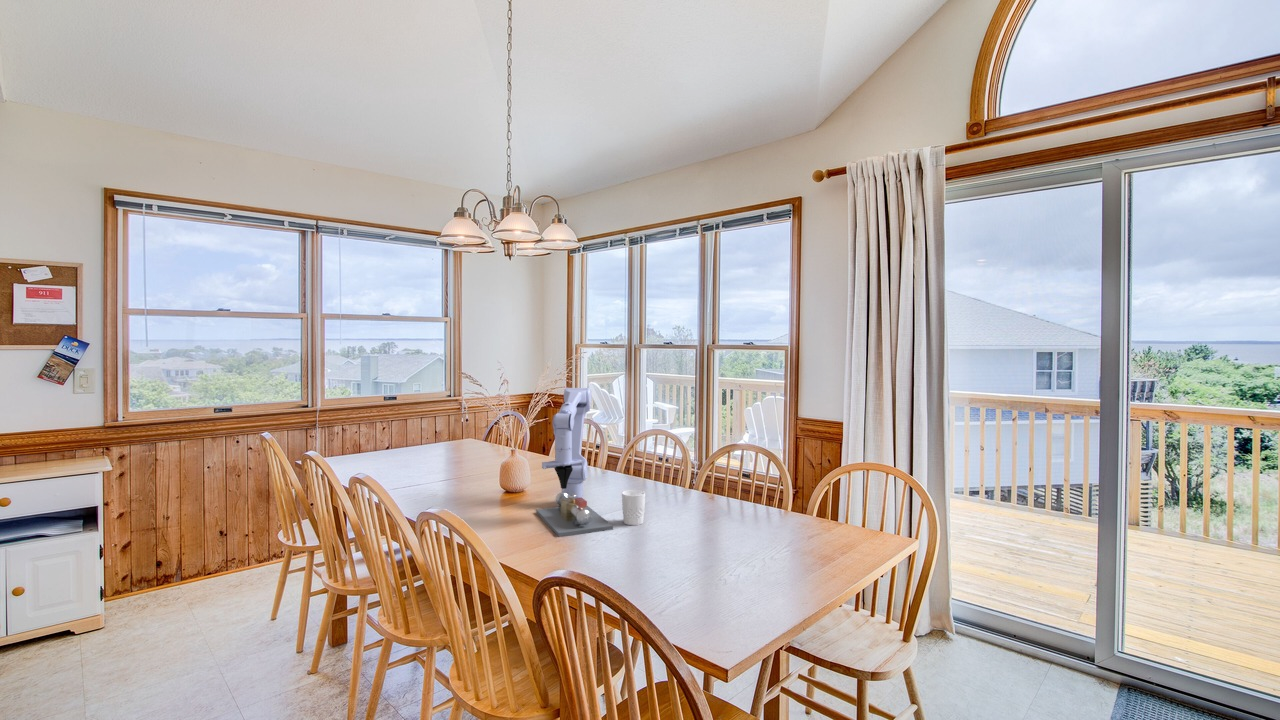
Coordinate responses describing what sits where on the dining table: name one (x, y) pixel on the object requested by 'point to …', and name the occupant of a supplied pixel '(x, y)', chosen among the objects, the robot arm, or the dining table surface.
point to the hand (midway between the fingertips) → (563, 488)
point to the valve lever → (578, 500)
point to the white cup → (633, 507)
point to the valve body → (572, 510)
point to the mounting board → (566, 527)
